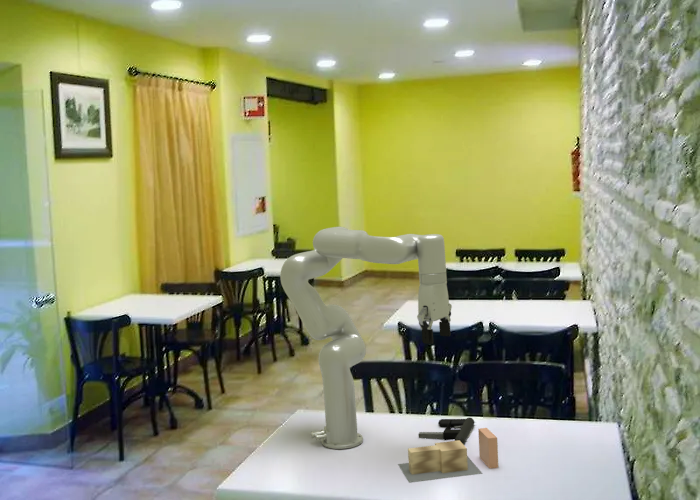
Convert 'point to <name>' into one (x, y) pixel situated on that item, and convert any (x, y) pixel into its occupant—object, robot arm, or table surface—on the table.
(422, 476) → the rest mat
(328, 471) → the table surface
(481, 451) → the tan rectangular block
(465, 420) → the door handle
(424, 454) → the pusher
